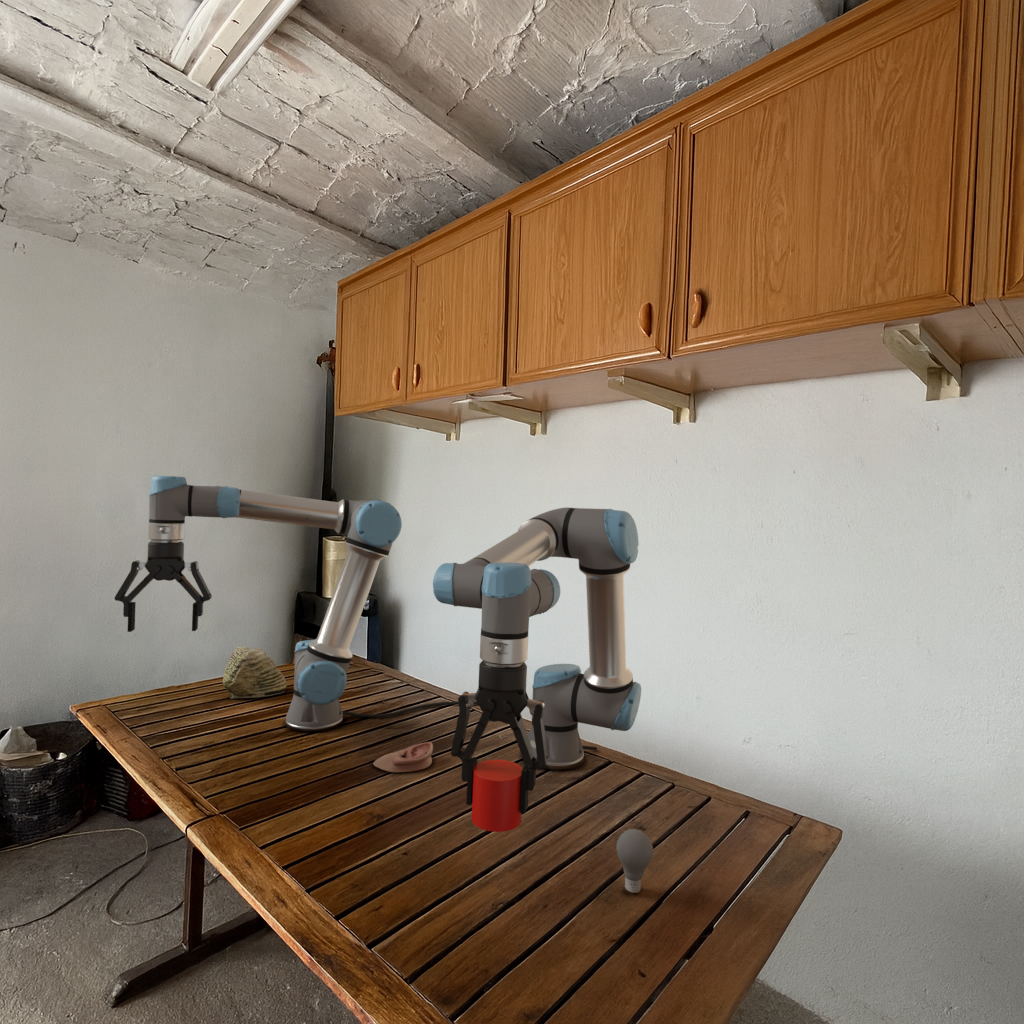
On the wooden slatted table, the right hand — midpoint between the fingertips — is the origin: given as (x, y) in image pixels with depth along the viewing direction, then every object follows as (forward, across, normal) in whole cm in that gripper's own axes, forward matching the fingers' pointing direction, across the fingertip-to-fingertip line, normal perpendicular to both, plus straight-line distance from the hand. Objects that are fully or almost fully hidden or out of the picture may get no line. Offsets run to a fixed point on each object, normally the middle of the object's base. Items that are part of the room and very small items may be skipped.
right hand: (497, 804), depth 100 cm
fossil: (+16, -98, +78) cm, 126 cm away
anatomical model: (+16, -34, +45) cm, 59 cm away
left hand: (-14, -90, +31) cm, 97 cm away
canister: (+2, 0, 0) cm, 2 cm away
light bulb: (+16, +21, +10) cm, 29 cm away
